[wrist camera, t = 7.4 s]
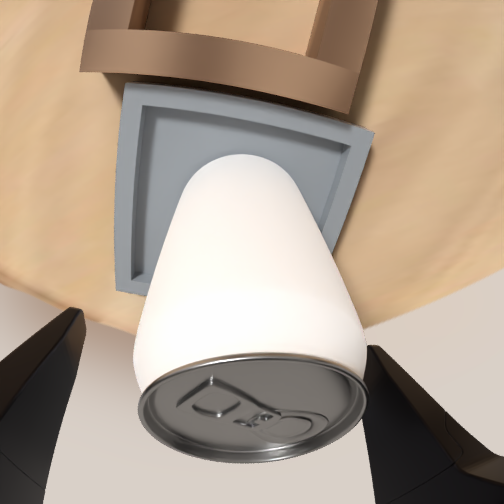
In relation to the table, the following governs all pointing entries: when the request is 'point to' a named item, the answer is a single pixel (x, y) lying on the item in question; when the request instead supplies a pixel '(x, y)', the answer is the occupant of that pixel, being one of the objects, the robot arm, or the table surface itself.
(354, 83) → the wooden square frame
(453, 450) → the robot arm
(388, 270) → the table surface
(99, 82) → the table surface
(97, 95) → the table surface
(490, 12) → the table surface
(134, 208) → the tray
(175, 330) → the can
